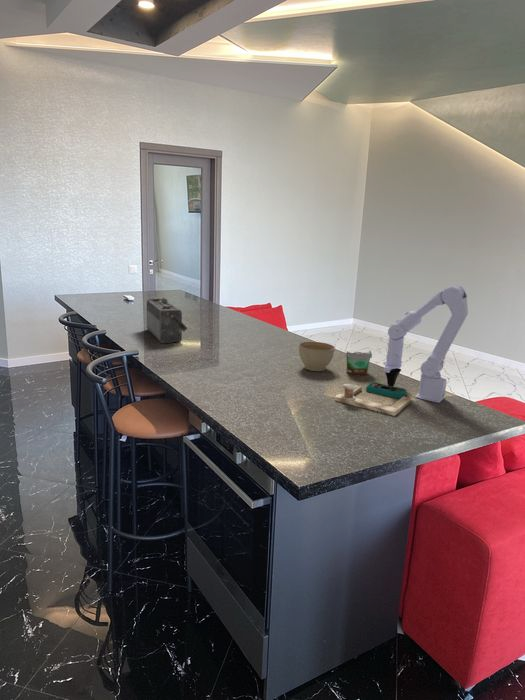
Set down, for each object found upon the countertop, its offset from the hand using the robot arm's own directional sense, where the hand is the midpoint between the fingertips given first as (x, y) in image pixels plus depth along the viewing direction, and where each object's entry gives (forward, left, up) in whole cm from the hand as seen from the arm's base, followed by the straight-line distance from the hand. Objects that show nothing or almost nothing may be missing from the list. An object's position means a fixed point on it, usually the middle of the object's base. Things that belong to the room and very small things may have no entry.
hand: (390, 385), depth 196 cm
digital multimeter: (0, +6, -2) cm, 6 cm away
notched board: (0, +19, -1) cm, 19 cm away
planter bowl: (+37, -4, -2) cm, 37 cm away
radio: (+130, -3, -2) cm, 130 cm away
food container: (+18, -10, -2) cm, 21 cm away
